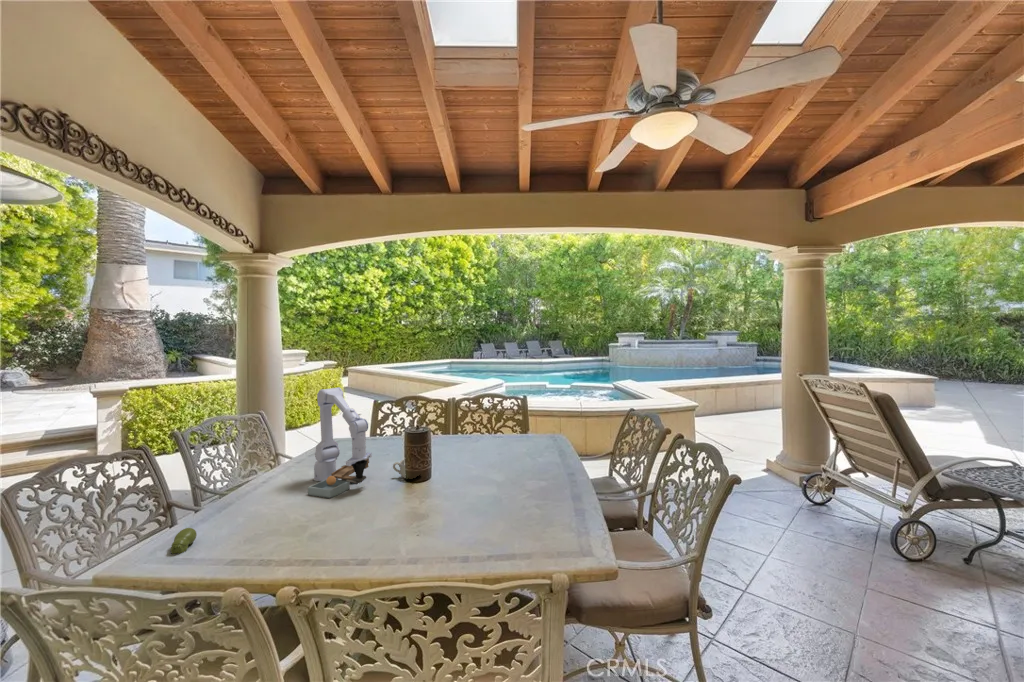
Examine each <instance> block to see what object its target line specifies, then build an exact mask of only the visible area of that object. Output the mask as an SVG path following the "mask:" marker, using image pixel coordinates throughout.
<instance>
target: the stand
mask: <svg viewBox="0 0 1024 682" xmlns="http://www.w3.org/2000/svg"><path fill="white" fill-rule="evenodd" d="M345 465H346V464H344V465H341V466H340V468H341V467H343V466H345ZM355 477H357V476H356V475H355ZM341 480H345V481H350V484H352V483H353V485H358V483H359V484H360V482H356V481H353V480H347V479H341ZM361 483H362V481H361Z"/></svg>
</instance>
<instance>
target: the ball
mask: <svg viewBox="0 0 1024 682" xmlns="http://www.w3.org/2000/svg"><path fill="white" fill-rule="evenodd" d="M326 482H327V484H328V485H333V484H335V482H336V478H335V477H334V476H329V477H328V478H327V480H326Z"/></svg>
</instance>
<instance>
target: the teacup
mask: <svg viewBox="0 0 1024 682" xmlns="http://www.w3.org/2000/svg"><path fill="white" fill-rule="evenodd" d="M396 465H398V466H399V469H397V467H396ZM392 468H393V470H394V471H395V472H397V473H398V474H399V475H400V476H401V477H402V478H404V479H405V475H406V474H405V465H404V459H401V460H400V461H395V462H394V463H393V464H392Z"/></svg>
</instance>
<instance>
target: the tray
mask: <svg viewBox="0 0 1024 682" xmlns="http://www.w3.org/2000/svg"><path fill="white" fill-rule="evenodd" d="M326 480H327V479H325V480H323V481H317V482H316V483H314V484H311V485H309V486H308V487H307V495H308V496H311V495H312V496H313V497H317V496H319V498H323V497H324V499H329V498H330V499H332V498H334V497H336V496H338V495H340V494H342V493H344V492H346V491H348V489H349V490H350V487H351V485H350V484H351V483H350V481H345V480H342V479H338V478H337V479H336V482H335V484H333V485H328V484H327V482H326Z"/></svg>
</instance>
